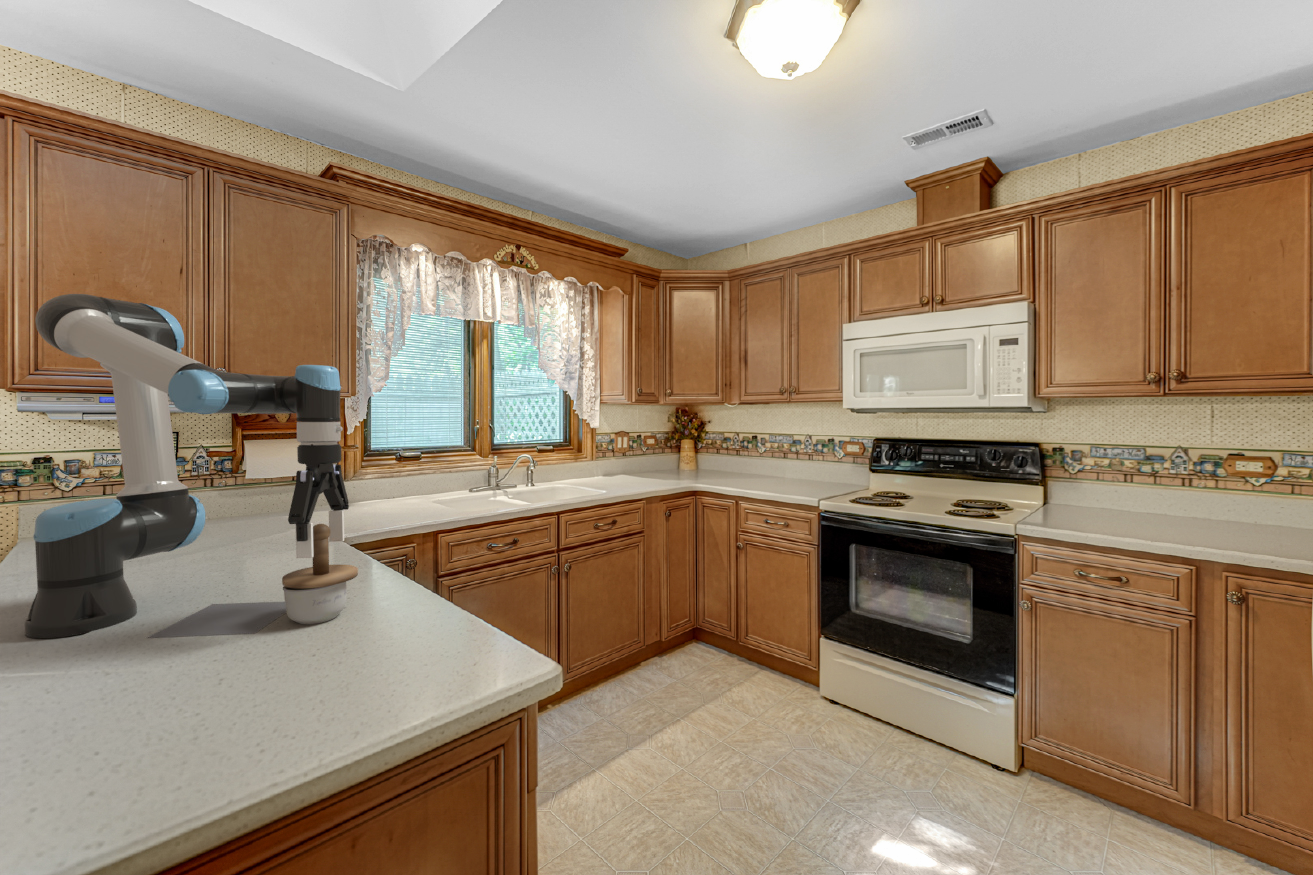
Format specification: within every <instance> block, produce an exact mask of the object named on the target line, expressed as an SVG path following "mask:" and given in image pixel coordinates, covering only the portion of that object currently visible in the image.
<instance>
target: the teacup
mask: <svg viewBox="0 0 1313 875" xmlns="http://www.w3.org/2000/svg"><path fill="white" fill-rule="evenodd" d="M282 586H283V585H282ZM347 588H348V587H347V581H346V582H343V583H340V584H336V585H331V586H325V587H317V588H289V587H285V586H283V587H282V590H283V594H284V595H283V596H284V597H283V598H284V602H285V606H286V615H287V617H288V618H289V619H290V620H291V621H293V622H296V623H297V624H300V625H316V624H321V623H326V622H328V621H332V620H333V619H335V618H337V617H338V616H339V614H340V613H341V612H343V610H345V608H346V606H347V603H348V602H347V601H348V590H347Z"/></svg>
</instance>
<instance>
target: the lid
mask: <svg viewBox="0 0 1313 875" xmlns="http://www.w3.org/2000/svg"><path fill="white" fill-rule="evenodd" d="M330 533H331V531H330V528H329V525H327V524H326V523H325V524H324V523H317V524H315V525H313V553H314V557H312V566H310V567H305V568H301V569H296V570H294V571H291V572H289V573H286V574H285V575H283V576H282V578H281V580H282V581H281V583H282V586H285V587H289V588H317V587H325V586H331V585H336V584H340V583H343V582H346V583H347V582H349V581H351V580H353V579H355V578H357V577H358V575H359V568H358V567H357V566H354V565H350V564H330V551H329V550H330V548H329V546H330V545H329V536H330Z"/></svg>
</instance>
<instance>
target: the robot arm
mask: <svg viewBox="0 0 1313 875" xmlns="http://www.w3.org/2000/svg"><path fill="white" fill-rule="evenodd" d="M34 321H35V327H36V330H37V332H38V334H39V335H40V337H41V338H42V339H43V340H44V341H45V342H46V343H47V344H49V345H50V346H52V347H54V348H56V350H59V351H61V352H63V353H65V354H68V355H69V356H72V357H75V358H80V359H81V358H83V359H85V358H87V359H88V358H90V359H92V360H94V361H96V362H97V363H99V365H100V367H101V368H103V369H104V370H106V371H107V372H109V373H110V376H111V384H112V390H113V391H112V392H113V399H114V407H115V416H116V424H117V430H118V438H119V439H118V440H119V441H118V442H119V446H120V456H121V463H122V471H123V472H122V473H123V481H124V487H123V488H122V489H121V490H120V491H119V492H117V493H116V496H115V497H116V498H95V499H89V500H82V501H75V502H70V503H65V504H61V505H57V506H54V507H51V508H48V509H45V510H44V511H42V512H41V513H40V514H38V515H37V516H36V519H35V524H34V531H33V532H34V533H33V536H32V537H33V540H34V544H35V563H36V566H35V567H36V581H37V582H36V583H37V589H36V590H37V591H36V594H35V597H34V599H33V602H32V605H31V607H30V610H29V613H28V614H27V615H28V616H27V618H26V619H25V621H24V622H25V623H24V634H25V636H26V637H27V638H32V639H53V638H54V639H55V638H64V637H71V636H76V635H77V636H78V635H83V634H87V633H91V632H94V631H98V630H103V629H106V628H109V627H113V626H115V625H119V624H121V623H123V622H127V621H128V620H130V619H132V618H134V617H135V616H136V615H137V614H138V608H137V607H138V606H137V602H136V600H135V599H134V597H133V595H132V591H131V590H130V588H129V585H128V584H127V582H126V580H125V577H124V562H125V561H129V560H133V559H137V558H143V557H146V556H151V555H156V554H160V553H166V552H172V551H175V550H177V549H180V548H184V547H187V546H189V545H190V544H193V543H194V542H195V541H196V540H197V539H198V536H200V535H201V534H202V532H203V531H204V527H205V524H206V509H205V506H204V504H203V503H202V502H201V500H200V499H199V498H198V497H196V496H195V495H191V494H190V493H189V487H188V485H186V484H183V483H182V482H181V481H180V480H179V477H178V476H179V475H178V468H177V461H176V460H177V459H176V452H175V444H174V435H173V428H172V420H171V411H170V404H169V400H170V402H172V403H173V404H174V407H175V408H176V409H178V411H180V412H181V411H182V412H183V413H191V414H195V413H196V414H198V415H211V414H261V415H262V414H263V415H271V414H272V415H273V414H296V441H297V442H298V443H300V444H299V445H298V446H296V449H297V451H296V452H297V454H296V455H297V462H298V464H301V465H305V466H306V467H305V470H297V471H296V472H295V474H296V475H295V485H294V490H293V495H292V499H291V505H290V509H289V512H288V518H287V522H288V524H289V525H295V558H296V559H311V558H312V559H313V557H314V553H313V526H314V523H313V522H311V520H312V517H313V515H314V514H313V513H314V511H315V508H316V505H317V502H318V499H319V497H320V495H321V494H322V493H323V495H324V497H325V499H326V502H327V503H328V506H329V508H330V509H331V510H328V527H329V528H330V531H331V533H330V536H329V538H328V540H329V542H330V543H331V542H344V541H345V516H344V515H345V514H344V513H345V511H347V510H349V507H350V505H349V502H350V501H349V498H348V494H347V490H346V487H345V486H346V485H345V481H344V478H343V473H342V465H341V464H339V463H341V462H342V445H341V444H339V443H338V442H340V441H341V440H342V437H341V435H342V433H341V432H343V430H344V428H343V426H341V390H342V387H341V380H340V372H339V369H337V367H335V366H331V365H324V364H323V365H321V364H320V365H319V364H302V365H301V364H300V365H297V366H296V367H295V373H294V375H292V376H291V375H290V376H289V375H267V374H265V375H264V374H253V373H252V374H250V373H237V372H228V371H227V372H225V371H220V370H218V369H215V368H214V367H211V366H208V365H206V364H204V363H202V362H200V361H198V360H196V359H193V358H192V357H189V356H186V355H185V354H183V353H182V349H183V348H184V346H185V334H184V330H183V328H182V326H181V324H180V322H179V321H178V320H177V318H176V317H175V316H174V315H173V314H171V313H170V312H169V311H167V310H166V309H163V308H161V307H158V306H153V305H150V304H147V303H143V302H132V301H128V300H127V301H126V300H120V299H114V298H107V297H103V296H96V295H93V294H88V293H87V294H86V293H67V294H62V295H58V296H56V297H55V296H54V297H52V298H50V299H48V300H47V301H46V302H43V304H42V305H41V306H40V307H39V308H38V310H37V312H36V314H35V320H34ZM344 510H345V511H344Z"/></svg>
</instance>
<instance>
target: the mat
mask: <svg viewBox="0 0 1313 875" xmlns="http://www.w3.org/2000/svg"><path fill="white" fill-rule="evenodd" d="M285 614H287V612H286V606H285V601H266V602H265V601H264V602H258V601H257V602H233V603H232V602H230V603H211V604H210V605H207V606H206V607H203V608H202V609H199V610H198V611H196V612H194V613H192V614H190V615H188V616H186V617H184V618H183V619H180V620H178V621H177V622H175V623H172V624H171V625H169V626H167V627H165V628H163V629H161V630H159V631H157V632H156V633H154V634H152V635H149V636H147V637H146V639H162V638H163V639H164V638H165V639H166V638H182V637H183V638H184V637H185V638H186V637H190V638H191V637H209V636H211V637H212V636H213V637H214V636H232V635H233V636H235V635H236V636H237V635H255V634H256V633H258V632H260V631H261V630H262V629H264V628H265V627H267V626H268V625H270V624H272V623H273V622H274V621H276V620H277V619H279V618H280V617H282V616H284V615H285Z"/></svg>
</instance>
